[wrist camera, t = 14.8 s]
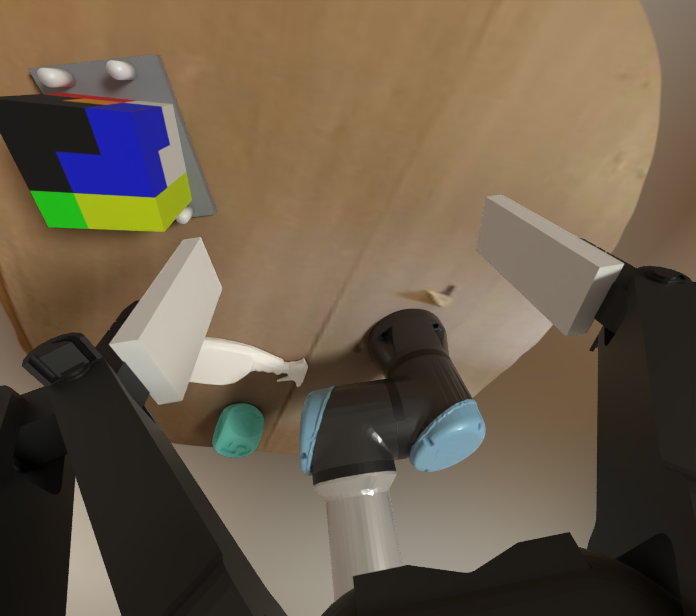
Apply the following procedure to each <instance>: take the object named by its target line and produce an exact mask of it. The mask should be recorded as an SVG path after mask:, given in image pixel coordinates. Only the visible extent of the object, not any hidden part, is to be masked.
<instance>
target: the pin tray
mask: <svg viewBox="0 0 696 616" xmlns="http://www.w3.org/2000/svg"><path fill="white" fill-rule="evenodd" d="M28 70H29V71H30V73H31V75H32V77H33V78H34V80H35V82H36V83H37V85H38V87H39V89H40V90H41V92H42V94H54V93H70V94H80V95H89V96H99V97H108V98H118V99H128V100H137V101H147V102H156V103H166V104H173V108H174V113H175V118H176V123H177V128H178V133H179V138H180V143H181V148H182V152H183V157H184V162H185V167H186V172H187V177H188V182H189V187H190V192H191V196H192V201H191V202H190V203H189V204H188V205H187V206H186V208H185V209H184V210H183V211H182V212H181V213H180V214H179V216H178V217H177V218H176V219H175V220H176V221H177V222H178V223H180V224H186V223H187V222H188V220H189V219H190V218H192V217H199V216H206V215H213V214H216V212H217V210H216V207H215V204H214V202H213V199H212V196H211V193H210V191H209V188H208V185H207V182H206V180H205V177H204V174H203V171H202V169H201V166H200V163H199V161H198V158H197V155H196V152H195V150H194V147H193V144H192V141H191V139H190V136H189V133H188V130H187V128H186V125H185V122H184V120H183V117H182V114H181V111H180V109H179V106H178V103H177V100H176V98H175V95H174V92H173V89H172V87H171V84H170V81H169V79H168V76H167V73H166V70H165V68H164V65H163V62H162V59H161V57H160V55H156V54H155V55H146V56H137V57H128V58H119V59H109V60H100V61H91V62H82V63H73V64H64V65H55V66H46V67H37V68H28ZM129 231H133V230H129Z"/></svg>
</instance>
